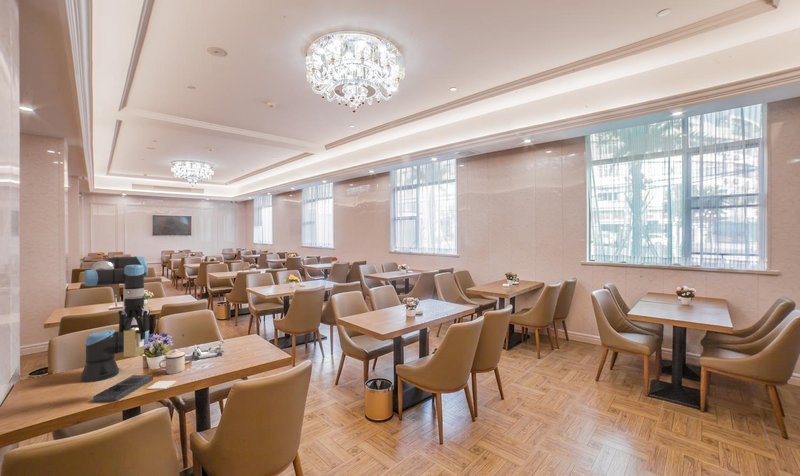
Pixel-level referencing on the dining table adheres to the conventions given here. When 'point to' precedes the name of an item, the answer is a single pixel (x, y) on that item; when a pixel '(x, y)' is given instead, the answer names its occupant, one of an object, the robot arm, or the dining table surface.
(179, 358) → the teacup with lid
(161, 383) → the mat
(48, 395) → the dining table surface
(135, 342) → the brass block
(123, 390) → the dark grey tray
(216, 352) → the silver irregular piece
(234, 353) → the dining table surface
